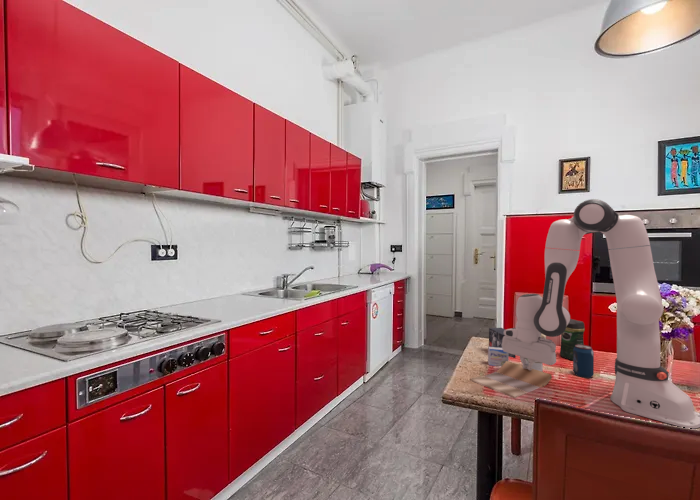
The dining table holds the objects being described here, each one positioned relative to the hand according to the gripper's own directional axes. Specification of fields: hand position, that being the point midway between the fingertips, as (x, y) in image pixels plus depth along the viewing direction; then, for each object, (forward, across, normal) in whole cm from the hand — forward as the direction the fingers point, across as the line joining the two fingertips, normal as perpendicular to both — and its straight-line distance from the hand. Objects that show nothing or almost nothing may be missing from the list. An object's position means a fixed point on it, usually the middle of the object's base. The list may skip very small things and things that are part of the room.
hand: (527, 369), depth 133 cm
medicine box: (+5, +14, -3) cm, 16 cm away
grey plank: (+4, 0, +10) cm, 11 cm away
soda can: (+4, -9, -25) cm, 27 cm away
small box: (+5, +25, -21) cm, 33 cm away
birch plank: (+4, +1, +19) cm, 19 cm away
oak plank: (+3, +1, +2) cm, 3 cm away
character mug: (+5, +15, -35) cm, 38 cm away
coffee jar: (+4, +4, -45) cm, 45 cm away
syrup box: (+5, +4, -11) cm, 12 cm away
